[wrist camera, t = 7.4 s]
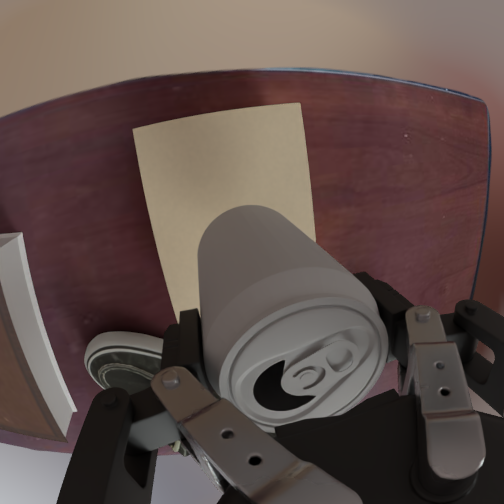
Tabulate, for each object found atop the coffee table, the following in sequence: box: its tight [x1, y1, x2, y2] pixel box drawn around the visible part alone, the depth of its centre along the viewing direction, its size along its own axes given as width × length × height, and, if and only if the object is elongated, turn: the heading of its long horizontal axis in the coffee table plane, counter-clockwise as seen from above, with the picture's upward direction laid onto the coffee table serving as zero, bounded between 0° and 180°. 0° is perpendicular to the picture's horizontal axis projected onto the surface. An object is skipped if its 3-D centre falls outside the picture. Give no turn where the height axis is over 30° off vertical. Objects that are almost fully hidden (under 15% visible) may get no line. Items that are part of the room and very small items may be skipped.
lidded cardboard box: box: [133, 103, 316, 324], centre depth 28 cm, size 19×13×8 cm
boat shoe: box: [84, 331, 276, 457], centre depth 35 cm, size 11×31×10 cm, turn 50°
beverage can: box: [197, 205, 389, 433], centre depth 15 cm, size 6×6×12 cm
